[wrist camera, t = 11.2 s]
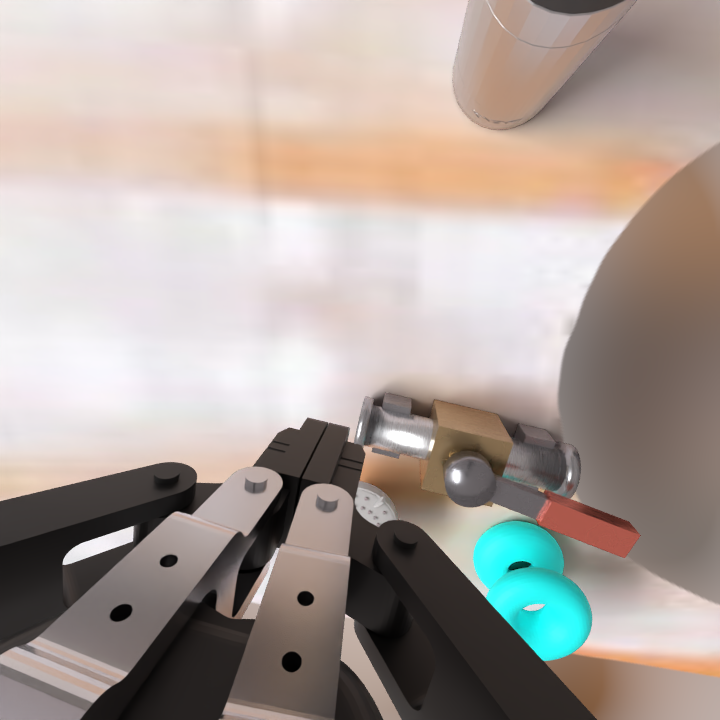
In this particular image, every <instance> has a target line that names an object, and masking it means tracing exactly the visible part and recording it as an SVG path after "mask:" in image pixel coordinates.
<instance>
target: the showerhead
mask: <svg viewBox="0 0 720 720" xmlns="http://www.w3.org/2000/svg"><path fill="white" fill-rule="evenodd" d="M355 506H356V509H357V511H358V512H359V513H360V515H361V516H362V517H363V518H364V519H366V520H367V521H368V522H370V523H372V524H374V525H376V526H377V527H379V526H380V525H381V524H383V523H384V522H387V521H391V520H398V515H397V511H396V508H395V506H394V504H393V502H392V501H391V499H390V498H389V497H388V496H387V495H386V494H385V493H384V492H383V491H382V490H380V489H379V488H377V487H376V486H374V485H371V484H369V483H366V482H362V481H359V485H358V489H357V493H356V498H355Z"/></svg>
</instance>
